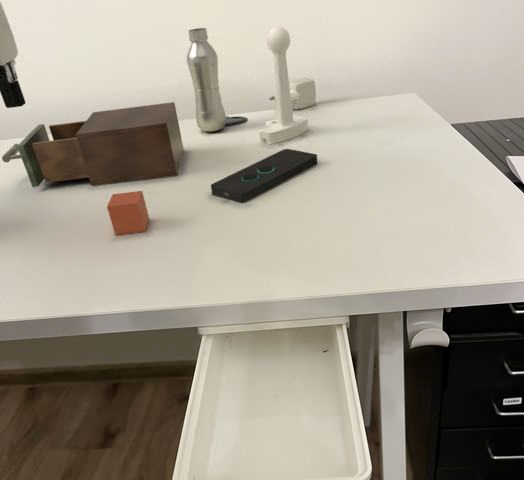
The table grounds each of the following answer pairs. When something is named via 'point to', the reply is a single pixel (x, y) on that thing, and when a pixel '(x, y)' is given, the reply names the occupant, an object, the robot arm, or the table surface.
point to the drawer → (51, 154)
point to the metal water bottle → (205, 81)
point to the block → (128, 212)
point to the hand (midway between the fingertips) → (16, 105)
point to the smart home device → (263, 175)
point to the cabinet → (131, 144)
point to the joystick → (282, 94)
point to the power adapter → (301, 93)
